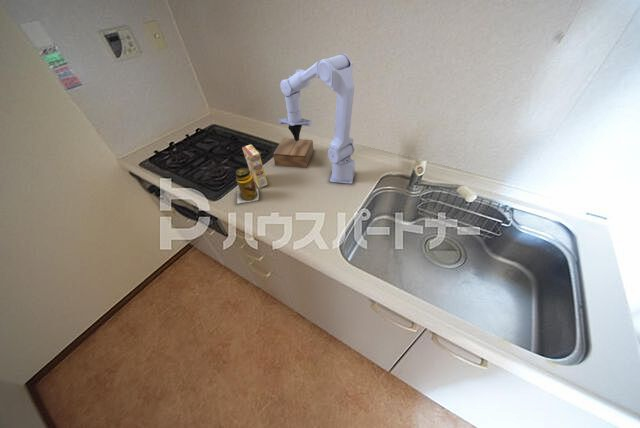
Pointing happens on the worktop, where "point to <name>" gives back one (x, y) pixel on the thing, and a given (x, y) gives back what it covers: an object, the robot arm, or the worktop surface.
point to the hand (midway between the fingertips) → (297, 139)
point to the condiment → (246, 186)
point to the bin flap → (300, 147)
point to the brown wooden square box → (284, 159)
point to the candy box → (255, 165)
